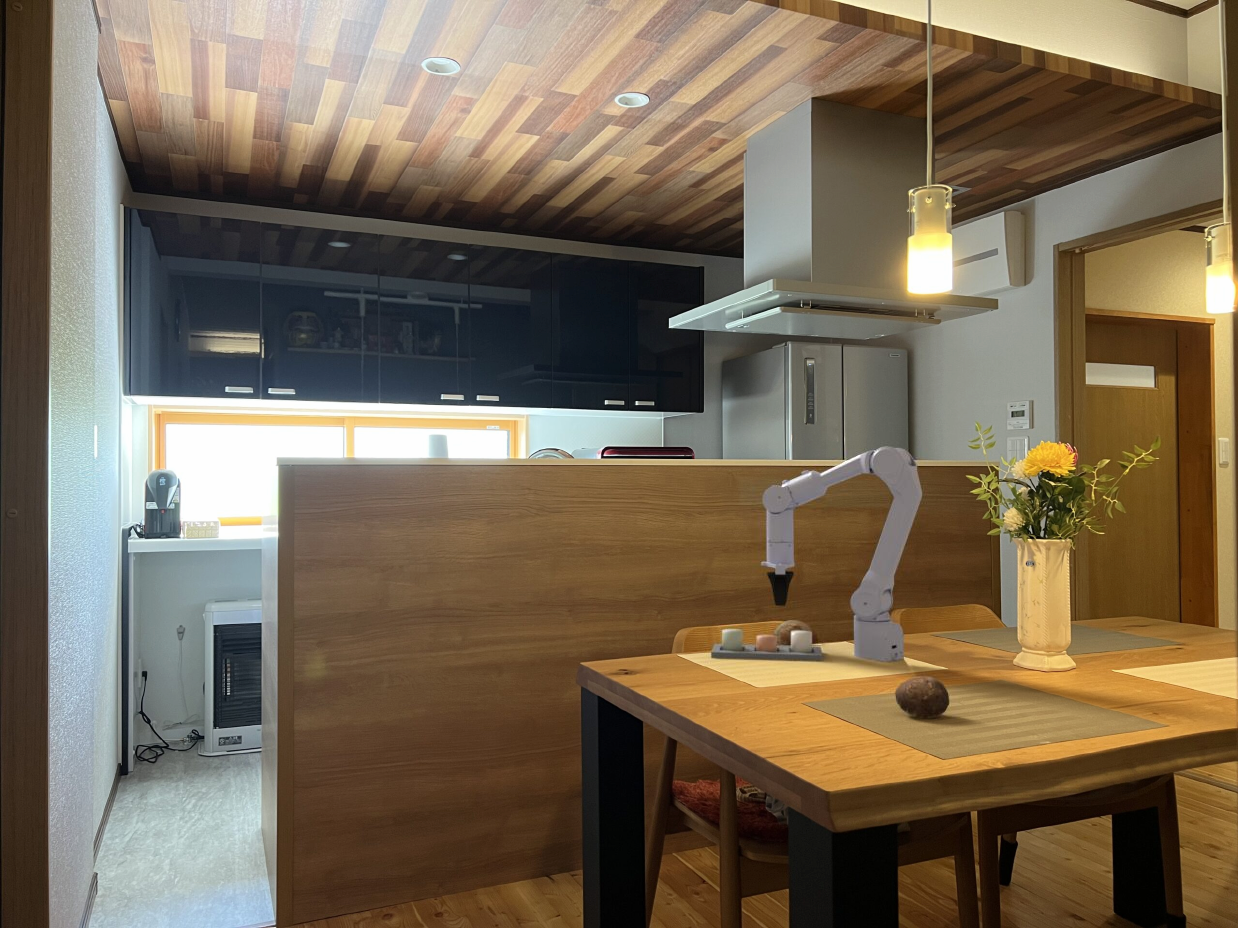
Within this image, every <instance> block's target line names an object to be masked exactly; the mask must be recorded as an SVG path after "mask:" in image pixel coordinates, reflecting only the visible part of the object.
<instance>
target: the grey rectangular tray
mask: <svg viewBox="0 0 1238 928" xmlns="http://www.w3.org/2000/svg"><path fill="white" fill-rule="evenodd" d="M710 653H711V656H710V657H711V659H737V660H738V659H739V660H741V659H742V660H772V661H773V660H776V661H777V660H778V661H805V662H806V661H808V662H811V661H812V662H823V661H824V660H823V658H824V657H823V656H824V655H823V652H822V647H821V646H812V653H802V652H791V645H777V652H766V651H756V644H743V651H730V650H722V643H714V645H713V647H712V649H711V652H710Z"/></svg>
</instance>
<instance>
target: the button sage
mask: <svg viewBox="0 0 1238 928" xmlns="http://www.w3.org/2000/svg"><path fill="white" fill-rule="evenodd" d="M743 633H744V632H743V630H742V629H740V628H725V629H722V630H721V644H722V650H730V651H743V645H744V644H743V640H744V639H743V638H744V637H743V636H744V635H743Z"/></svg>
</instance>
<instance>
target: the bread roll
mask: <svg viewBox="0 0 1238 928" xmlns="http://www.w3.org/2000/svg"><path fill="white" fill-rule="evenodd" d="M791 631H810V632H812V645H814V644H818V643H819V639H818V634H817V633H816V631H815V630H814V628H812V627H811V626H810V625H808V624H807V623H805V622H803V621H802V620H796V619H795V620H793V619H791V620H790V619H789V620H786V621H784V622H781V623H780V624H779V625H778V626H777V627H776V628H775V630H774V631H773V634H772V635H775V636H777V644H780V645H782V646H791Z"/></svg>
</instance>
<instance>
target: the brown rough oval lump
mask: <svg viewBox="0 0 1238 928" xmlns="http://www.w3.org/2000/svg"><path fill="white" fill-rule="evenodd" d="M894 695H895V701H896V704H897V705H898V706H899V708H900V709H901V710H902V712H904V713H905V714H908V715H909V716H911V717H915V718H917V719H933V718H937V717H939V716H941V715H943V714H944V713H946V711H947V709H948V707H949V705H950V696H949V692H948V690H947V689H946V687H945V685H944V684H943V683H942V682H941V681H939V679H938V678H936V677H932V676H927V675H924V676H923V675H922V676H915V677H913V678H912V677H911V678H909V679H907V680H905V681H903V682H901V683H900V684H899V685H898V686H897V688H896V690H895V692H894Z"/></svg>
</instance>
